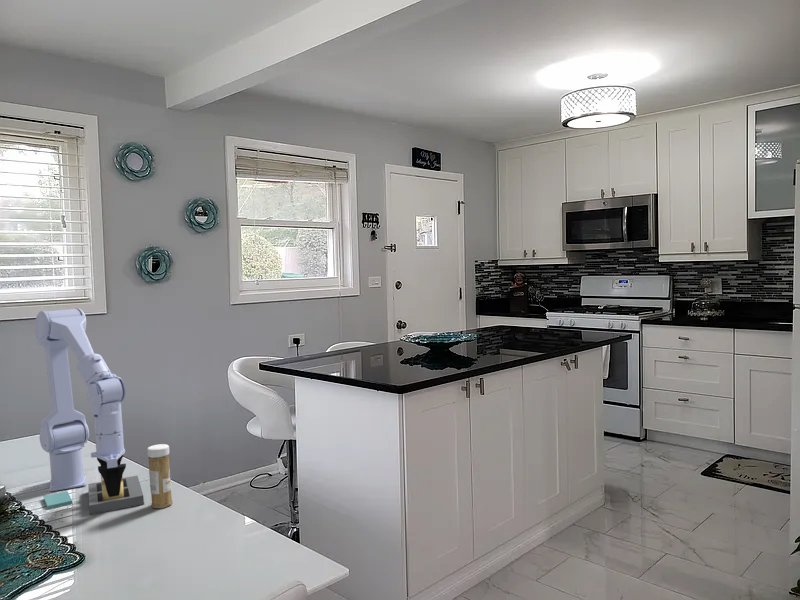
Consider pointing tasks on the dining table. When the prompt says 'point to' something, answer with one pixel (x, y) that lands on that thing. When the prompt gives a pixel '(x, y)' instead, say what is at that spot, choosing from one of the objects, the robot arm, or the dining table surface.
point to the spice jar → (159, 475)
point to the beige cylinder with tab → (107, 498)
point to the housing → (130, 490)
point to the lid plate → (57, 500)
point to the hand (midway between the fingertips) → (113, 490)
